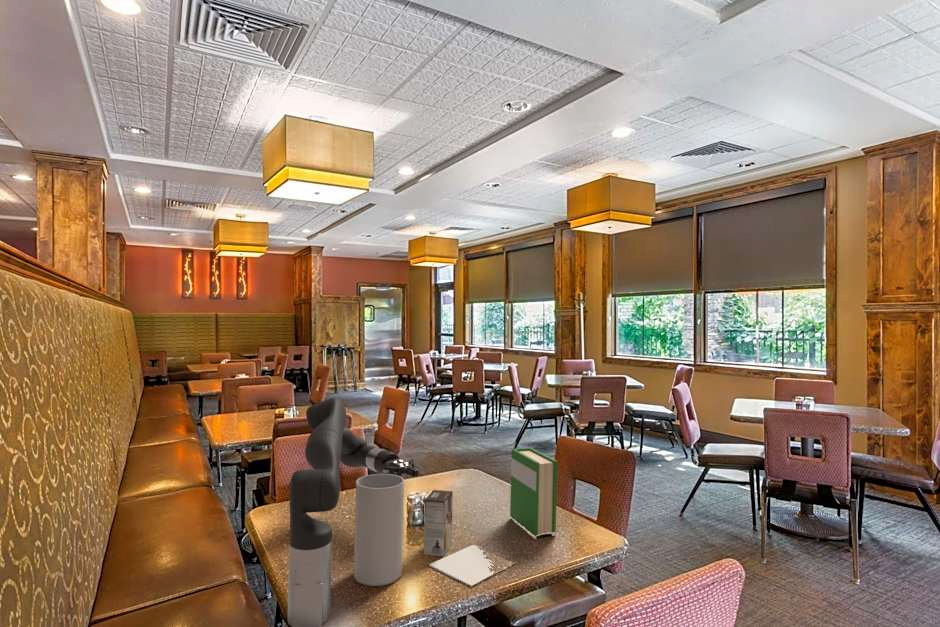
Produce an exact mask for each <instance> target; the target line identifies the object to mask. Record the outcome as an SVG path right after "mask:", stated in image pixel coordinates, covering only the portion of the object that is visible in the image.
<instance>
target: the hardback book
mask: <svg viewBox="0 0 940 627" xmlns="http://www.w3.org/2000/svg"><path fill="white" fill-rule="evenodd" d="M510 458H511V460H510V461H511V464H510V465H511V466H510V467H511V468H510V469H511V470H510V471H511V472H510V510H509V513H510V514H509V516H511V517H512V518H513V519H515V520H516V521H517V522H518V523H520V524H521V525H522V526H524V527H525V528H526V529H527V530H528V531H530V532H531V533H532V534H533V535H535V536H536V535H538V534H542V533H547V532H556V531H557V494H558V493H557V487H558V460H556V459H554V458H552V457H550V456H549V455H546V454H544V453H542V452H540V451H538V450H537V449H534V448H532V447H523V448H522V447H520V448H511V456H510ZM556 533H557V532H556Z"/></svg>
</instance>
